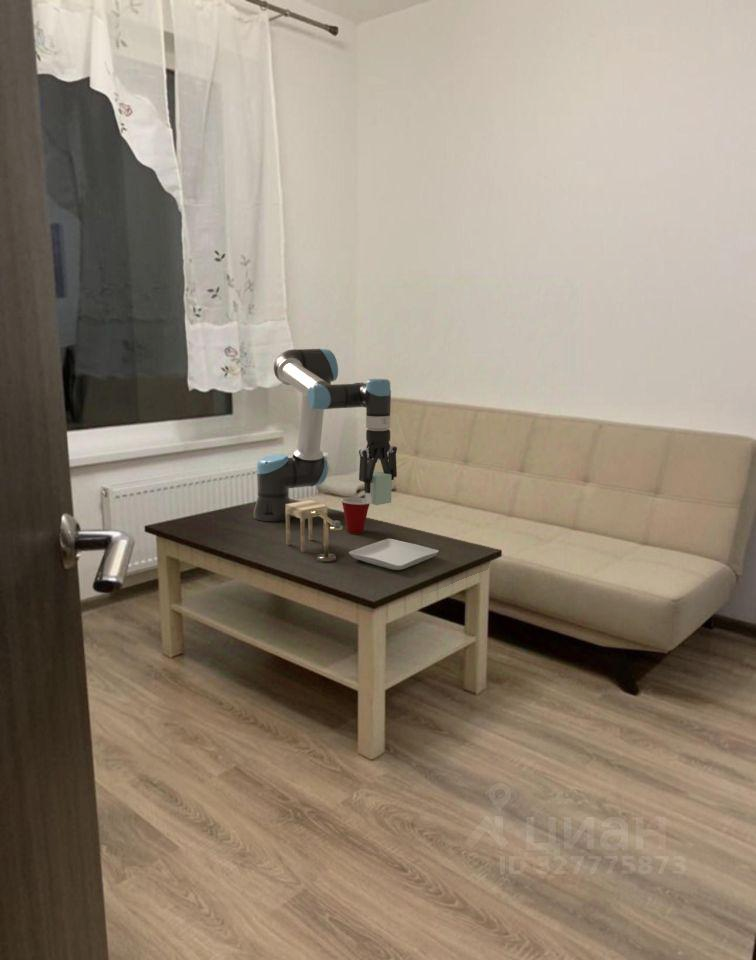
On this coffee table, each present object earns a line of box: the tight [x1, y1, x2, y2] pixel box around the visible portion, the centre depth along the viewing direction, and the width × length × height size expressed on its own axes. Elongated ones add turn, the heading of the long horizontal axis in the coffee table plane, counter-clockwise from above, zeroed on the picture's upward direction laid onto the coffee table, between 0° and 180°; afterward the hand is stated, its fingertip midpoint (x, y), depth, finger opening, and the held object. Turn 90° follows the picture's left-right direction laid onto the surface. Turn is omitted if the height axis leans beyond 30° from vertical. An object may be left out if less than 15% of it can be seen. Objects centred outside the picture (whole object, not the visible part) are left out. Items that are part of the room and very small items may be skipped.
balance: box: [311, 510, 344, 563], centre depth 237 cm, size 15×6×15 cm, turn 39°
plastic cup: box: [340, 496, 371, 535], centre depth 268 cm, size 11×11×12 cm
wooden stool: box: [285, 499, 328, 553], centre depth 251 cm, size 10×10×14 cm
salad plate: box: [348, 538, 440, 571], centre depth 239 cm, size 21×21×3 cm
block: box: [364, 471, 392, 506], centre depth 238 cm, size 6×6×9 cm
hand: (378, 501), depth 239 cm, fingers closed on block, 6 cm apart
